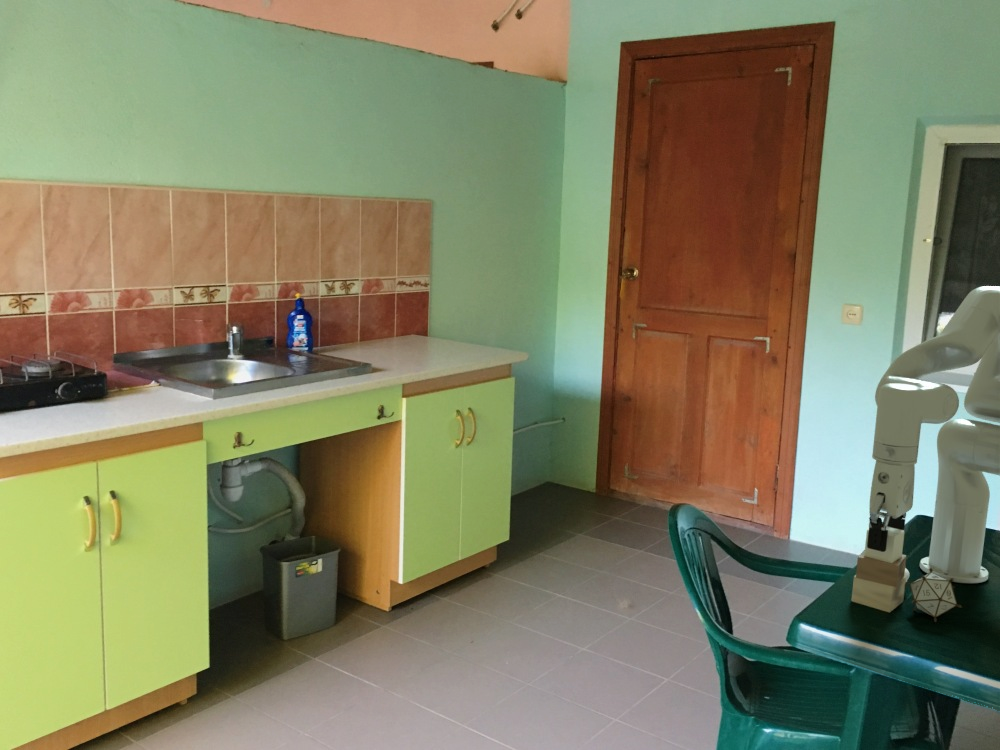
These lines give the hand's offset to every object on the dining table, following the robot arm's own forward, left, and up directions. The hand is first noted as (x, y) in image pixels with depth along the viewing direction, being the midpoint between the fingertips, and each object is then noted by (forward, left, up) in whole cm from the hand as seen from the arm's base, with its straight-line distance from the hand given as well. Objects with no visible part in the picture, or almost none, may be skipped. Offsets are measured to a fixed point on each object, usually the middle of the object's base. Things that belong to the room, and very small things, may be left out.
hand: (885, 543), depth 171 cm
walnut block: (0, 0, -6) cm, 6 cm away
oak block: (0, 0, -11) cm, 11 cm away
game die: (0, +9, -11) cm, 15 cm away
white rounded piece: (-7, 0, -11) cm, 14 cm away
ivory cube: (0, 0, -2) cm, 2 cm away
